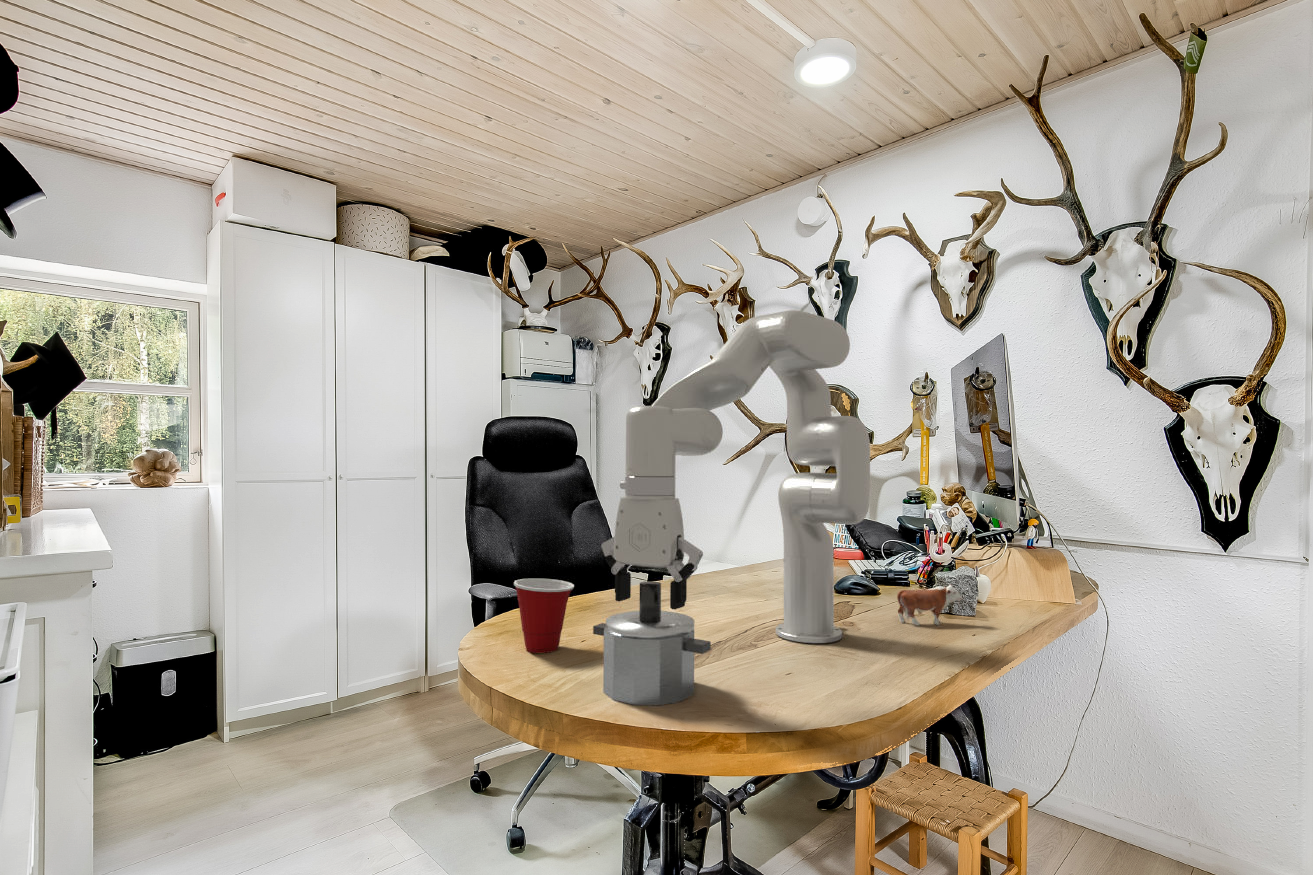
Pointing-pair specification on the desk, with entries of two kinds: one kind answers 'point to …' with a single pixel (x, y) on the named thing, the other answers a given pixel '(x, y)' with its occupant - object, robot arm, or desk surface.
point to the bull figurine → (925, 602)
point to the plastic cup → (542, 612)
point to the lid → (650, 618)
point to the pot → (649, 667)
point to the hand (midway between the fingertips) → (649, 603)
